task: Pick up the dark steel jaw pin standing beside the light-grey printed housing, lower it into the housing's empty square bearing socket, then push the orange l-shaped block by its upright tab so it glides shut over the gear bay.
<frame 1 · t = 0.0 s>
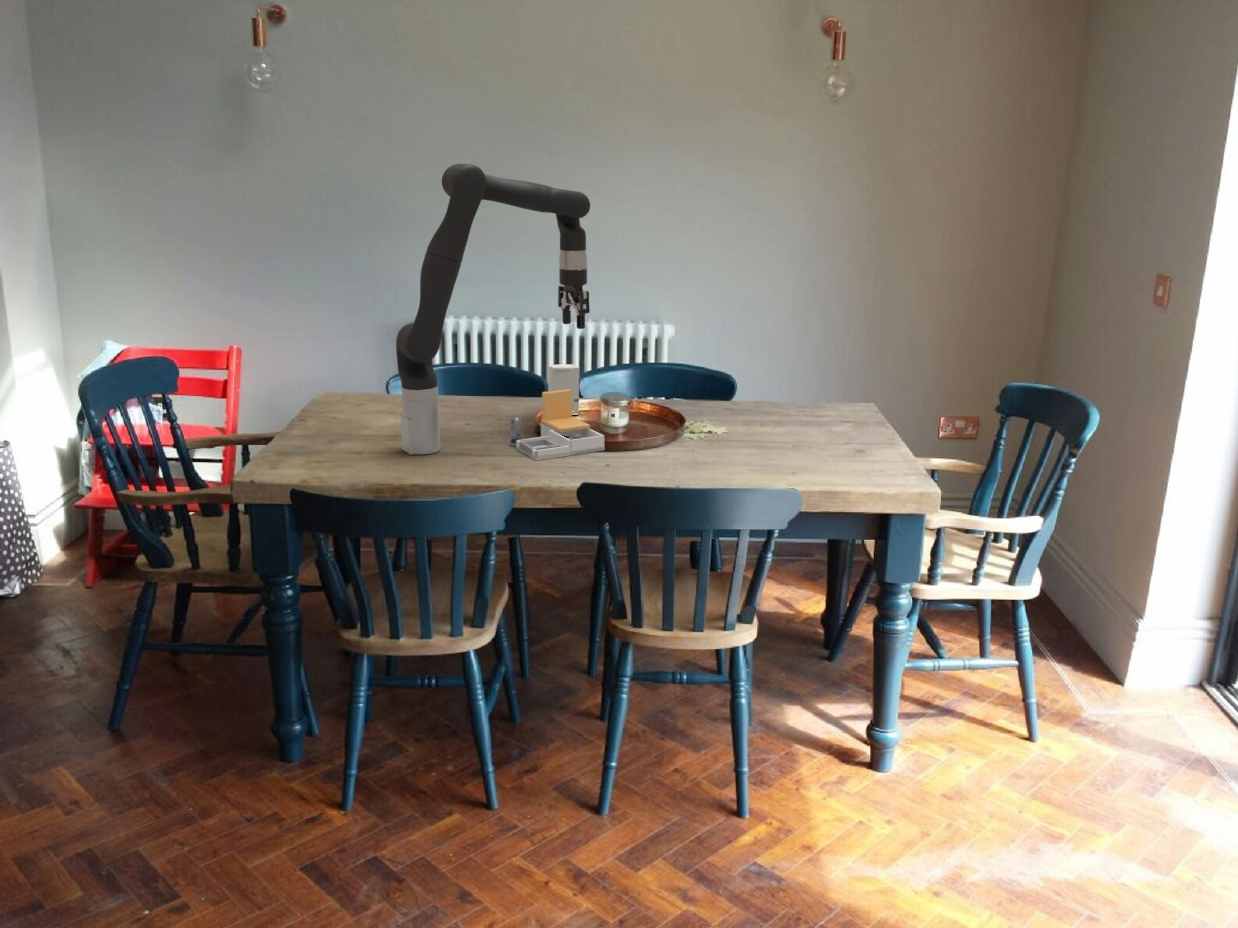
hand: (573, 326, 311), 29 cm above the table, fingers open, 8 cm apart
orange l-shaped block: (565, 410, 306), point 8 cm above the table, slide at 8.0 cm
housing: (560, 449, 299), on the table
jaw pin: (516, 444, 304), on the table
skincare box: (563, 415, 336), on the table
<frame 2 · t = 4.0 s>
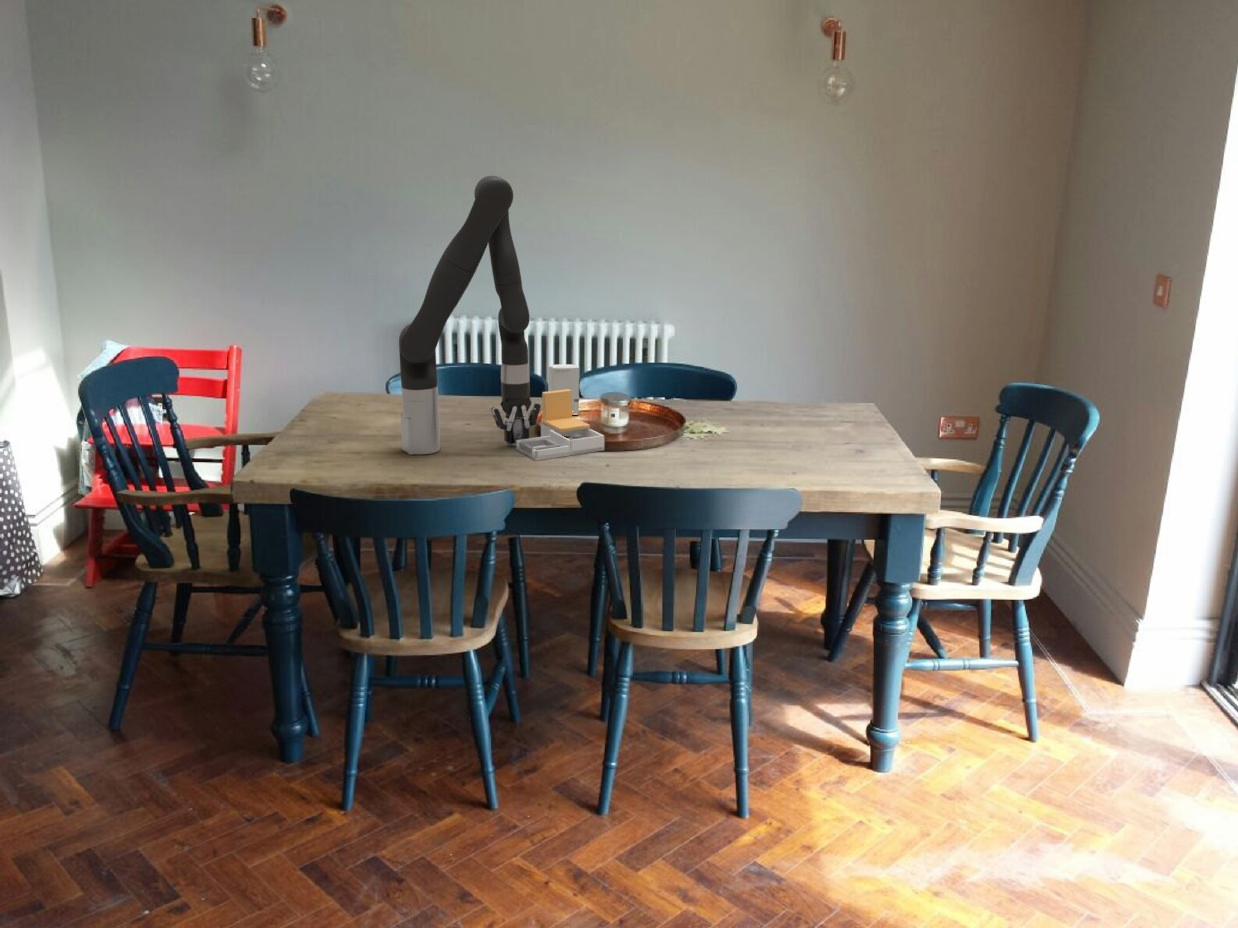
hand: (516, 442, 304), 1 cm above the table, fingers closed on jaw pin, 4 cm apart
jaw pin: (516, 444, 304), on the table, touching gripper
everything else where it was.
when the fingers open (3 cm above the table, at t = 9.0 s): jaw pin stays where it is, resting on housing.
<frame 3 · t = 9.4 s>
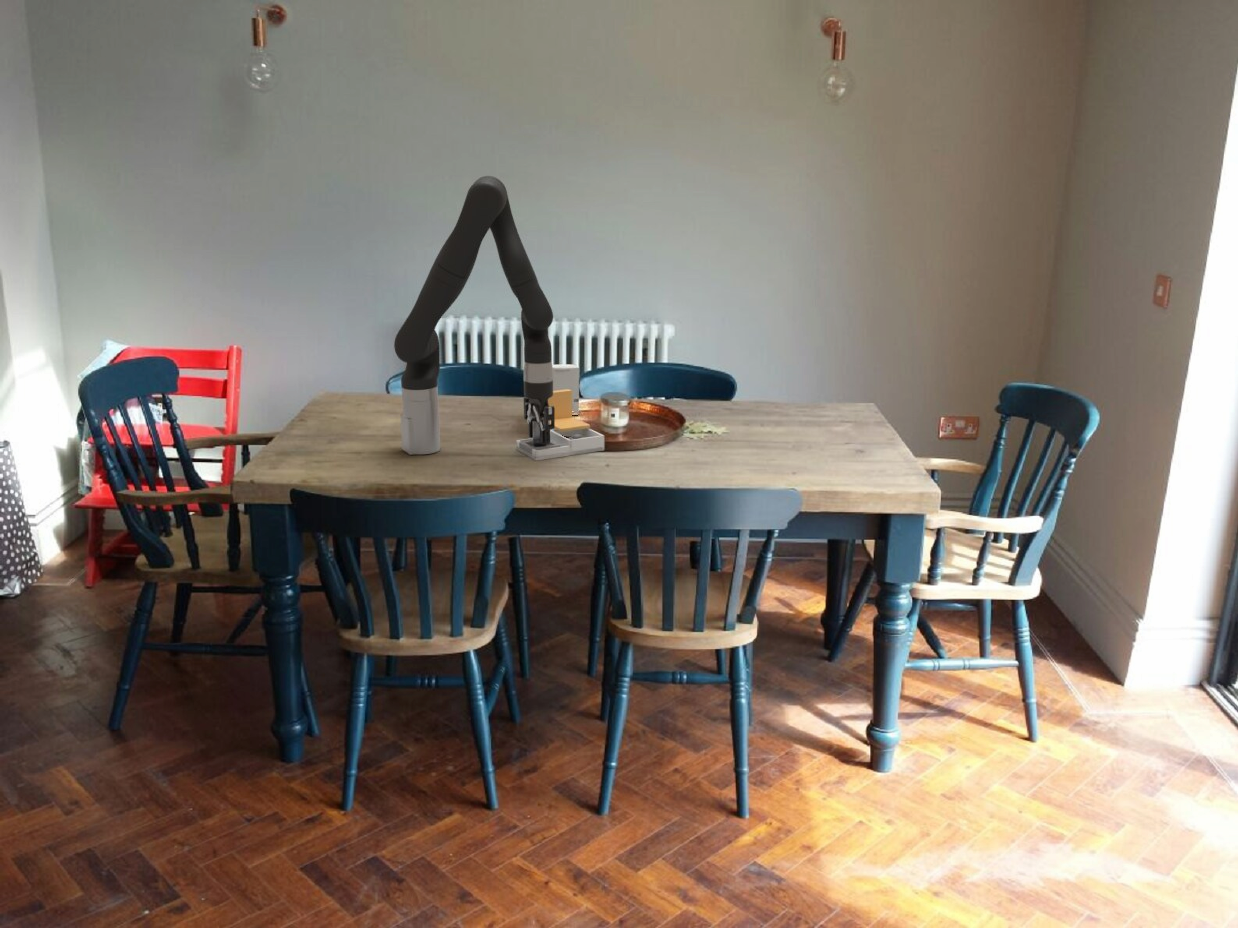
hand: (539, 440, 296), 3 cm above the table, fingers open, 7 cm apart
jaw pin: (539, 449, 296), point 1 cm above the table, touching housing
everything else where it was.
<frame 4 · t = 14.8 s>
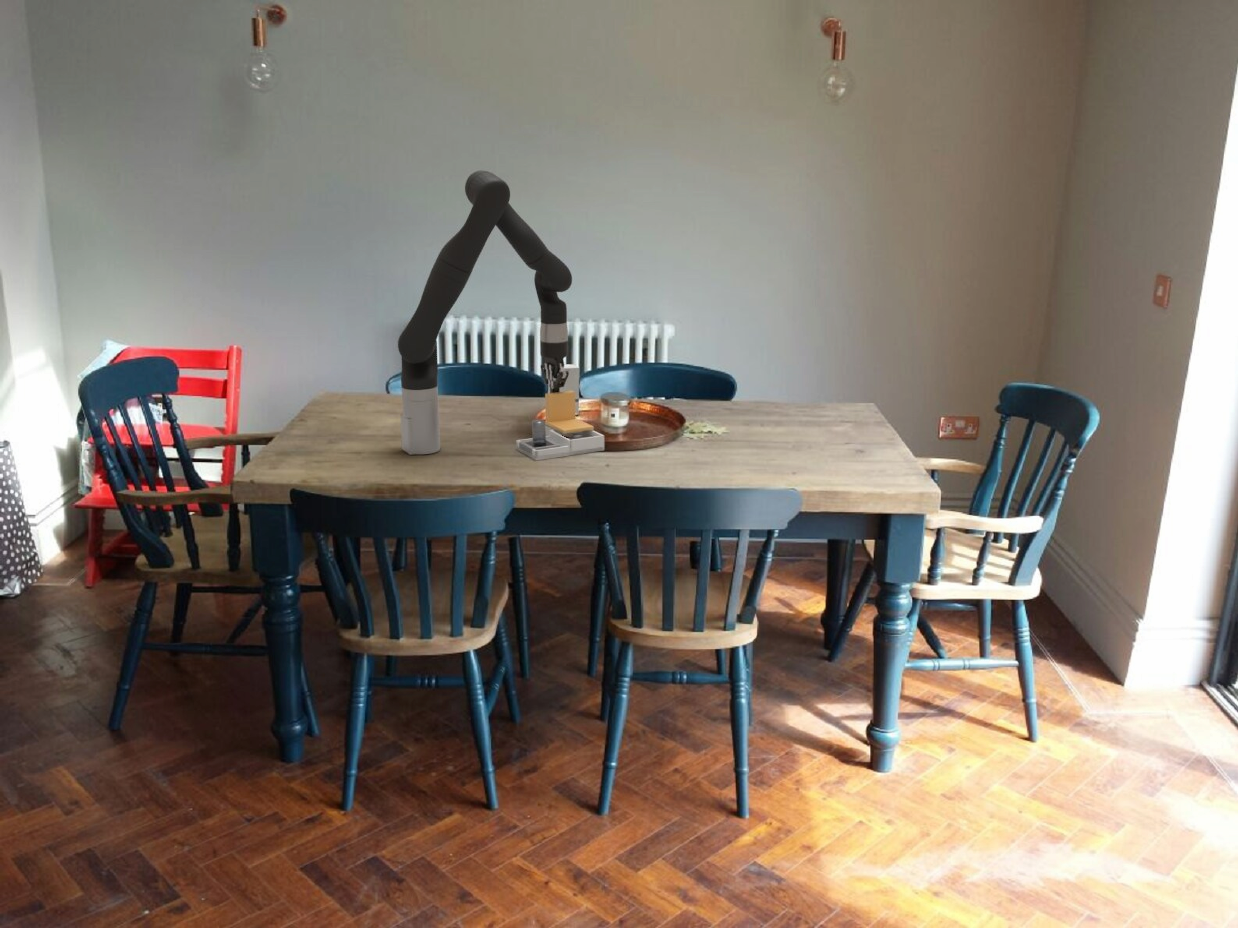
hand: (554, 401, 311), 10 cm above the table, fingers closed
orange l-shaped block: (568, 411, 305), point 8 cm above the table, slide at 6.0 cm, touching gripper
everything else where it was.
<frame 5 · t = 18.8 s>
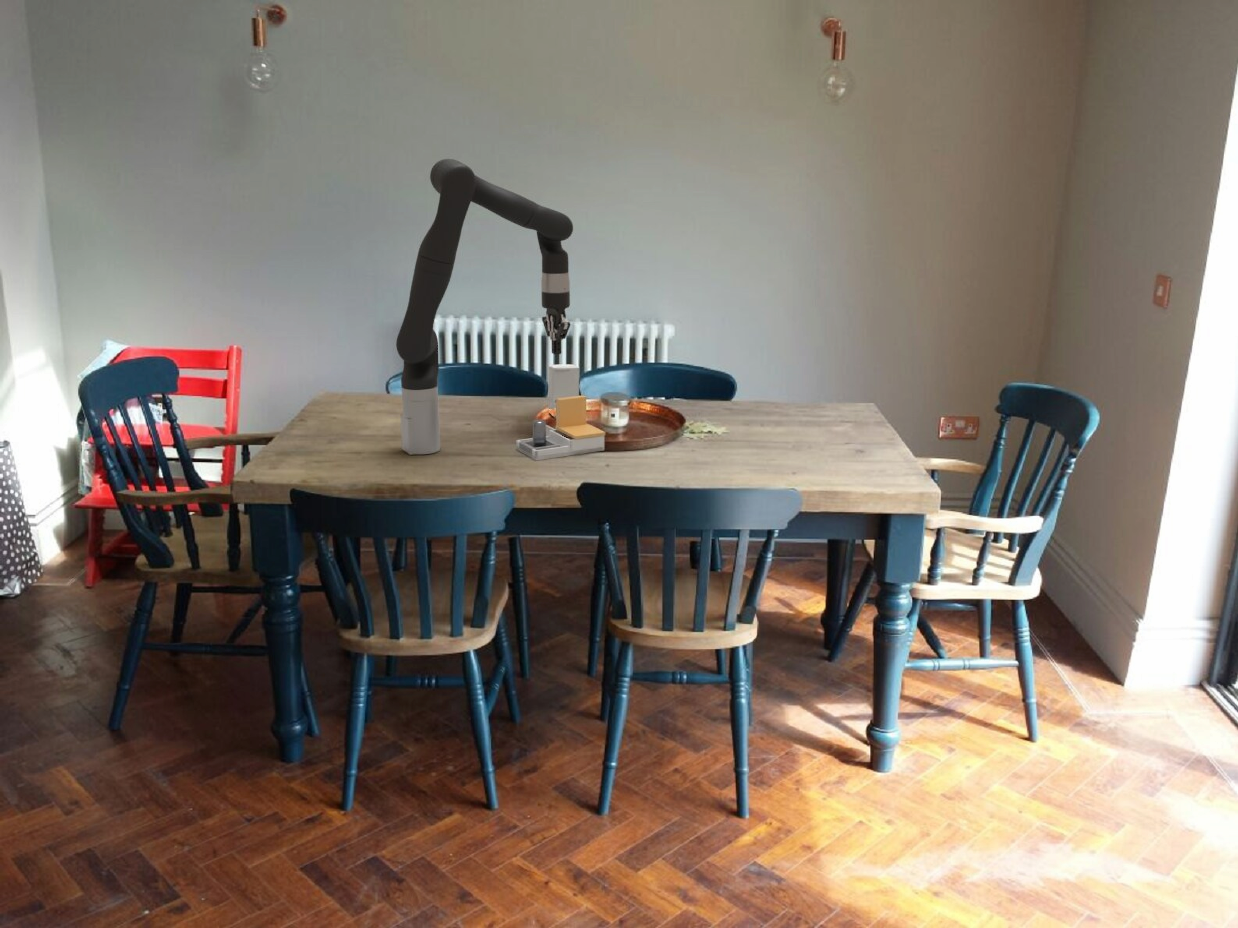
hand: (556, 353, 306), 23 cm above the table, fingers closed
orange l-shaped block: (579, 416, 299), point 8 cm above the table, slide at -0.6 cm
everything else where it was.
at the end: jaw pin 0.0 cm from the target spot on the housing, point 1.1 cm above the housing's base; jaw pin tilted 2°; orange l-shaped block slide at -0.6 cm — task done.
